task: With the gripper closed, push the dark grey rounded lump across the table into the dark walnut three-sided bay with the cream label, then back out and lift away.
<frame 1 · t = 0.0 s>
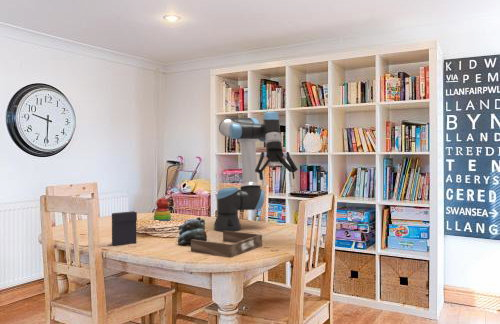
hand: (278, 186, 203), 28 cm above the table, tool tilted 20°, fingers open, 13 cm apart
stacking bear: (162, 230, 246), on the table
dark grey rounded lump: (191, 243, 210), on the table
labelled bay: (226, 248, 200), on the table
upright charcoal panel: (124, 244, 208), on the table
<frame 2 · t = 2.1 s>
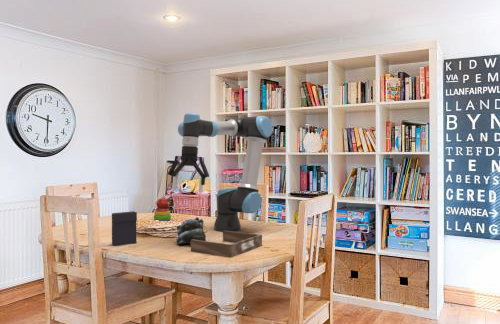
hand: (187, 191, 207), 25 cm above the table, tool pointing down, fingers open, 13 cm apart
nothing on the table moved.
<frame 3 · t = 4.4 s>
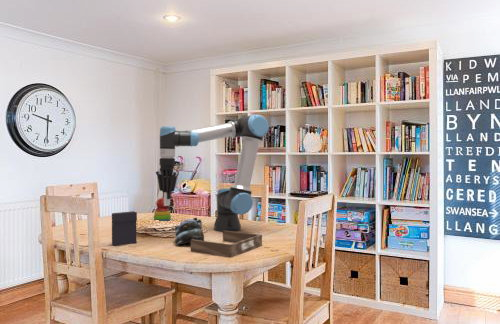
hand: (166, 205, 217), 17 cm above the table, tool pointing down, fingers closed
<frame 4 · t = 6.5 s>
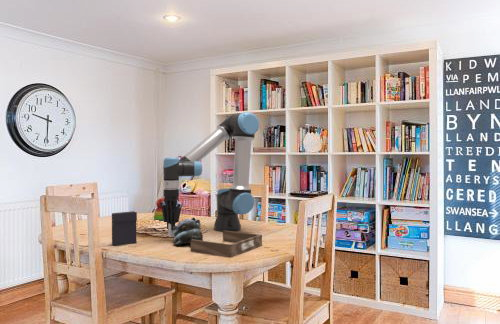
hand: (171, 236, 217), 2 cm above the table, tool pointing down, fingers closed
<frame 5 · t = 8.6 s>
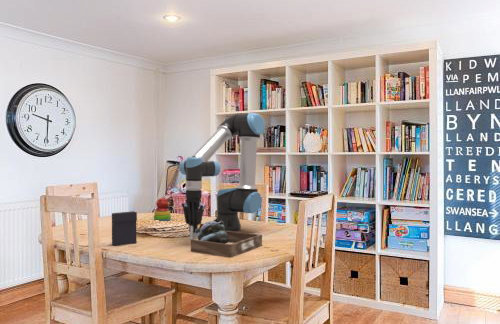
hand: (193, 239, 209), 2 cm above the table, tool pointing down, fingers closed
dark grey rounded lump: (211, 247, 203), on the table, touching hand
everything else where it was.
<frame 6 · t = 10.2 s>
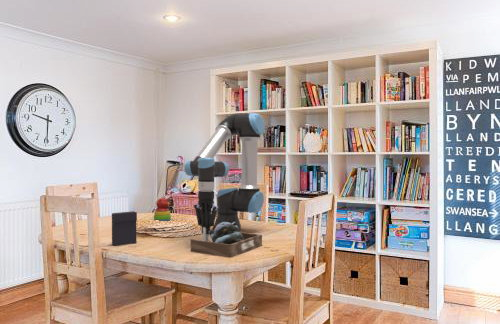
hand: (205, 240, 205), 2 cm above the table, tool pointing down, fingers closed
dark grey rounded lump: (226, 248, 200), on the table, touching gripper, hand
everything else where it was.
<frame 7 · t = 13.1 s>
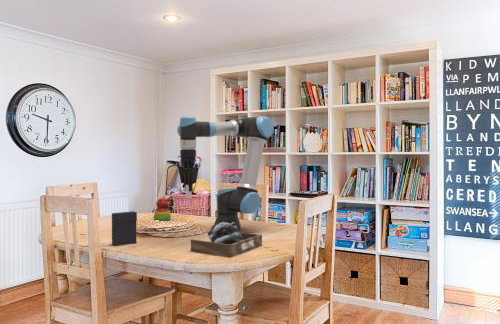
hand: (188, 198, 211), 21 cm above the table, tool pointing down, fingers closed
dark grey rounded lump: (225, 248, 200), on the table
everything else where it was.
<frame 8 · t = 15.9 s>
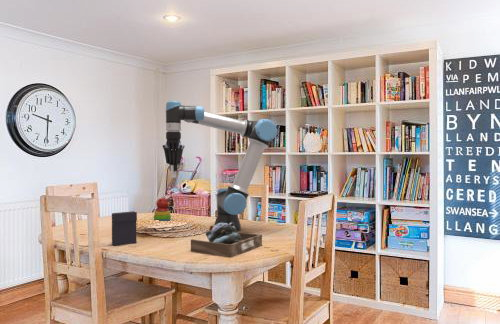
hand: (173, 177, 226), 30 cm above the table, tool pointing down, fingers closed
dark grey rounded lump: (223, 249, 199), on the table
everything else where it was.
at the end: dark grey rounded lump inside the target area on the labelled bay (1.7 cm from its centre), point 0.0 cm above the labelled bay's base; dark grey rounded lump tilted 0°; dark grey rounded lump moved 19.8 cm from its start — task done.
